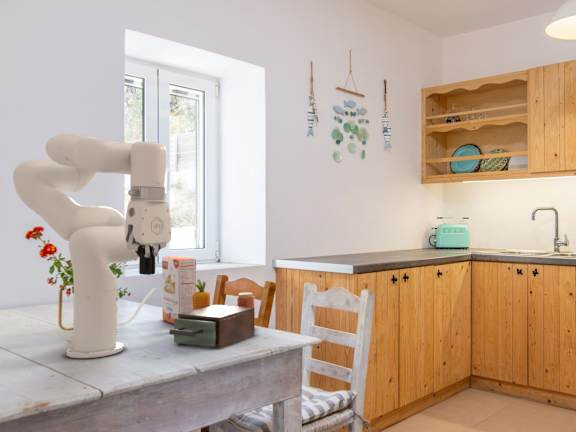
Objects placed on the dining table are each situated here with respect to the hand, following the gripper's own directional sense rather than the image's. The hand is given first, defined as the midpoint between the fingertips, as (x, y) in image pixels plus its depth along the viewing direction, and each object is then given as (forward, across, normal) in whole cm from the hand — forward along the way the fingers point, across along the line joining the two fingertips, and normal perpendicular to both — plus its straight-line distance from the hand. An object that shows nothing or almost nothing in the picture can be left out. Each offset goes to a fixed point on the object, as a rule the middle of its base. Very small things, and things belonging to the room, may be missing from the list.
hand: (147, 274), depth 123 cm
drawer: (+20, +20, -1) cm, 28 cm away
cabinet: (+21, +25, -1) cm, 33 cm away
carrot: (+21, +34, +12) cm, 42 cm away
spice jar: (+21, +38, -1) cm, 43 cm away
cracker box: (+22, +39, +25) cm, 51 cm away
